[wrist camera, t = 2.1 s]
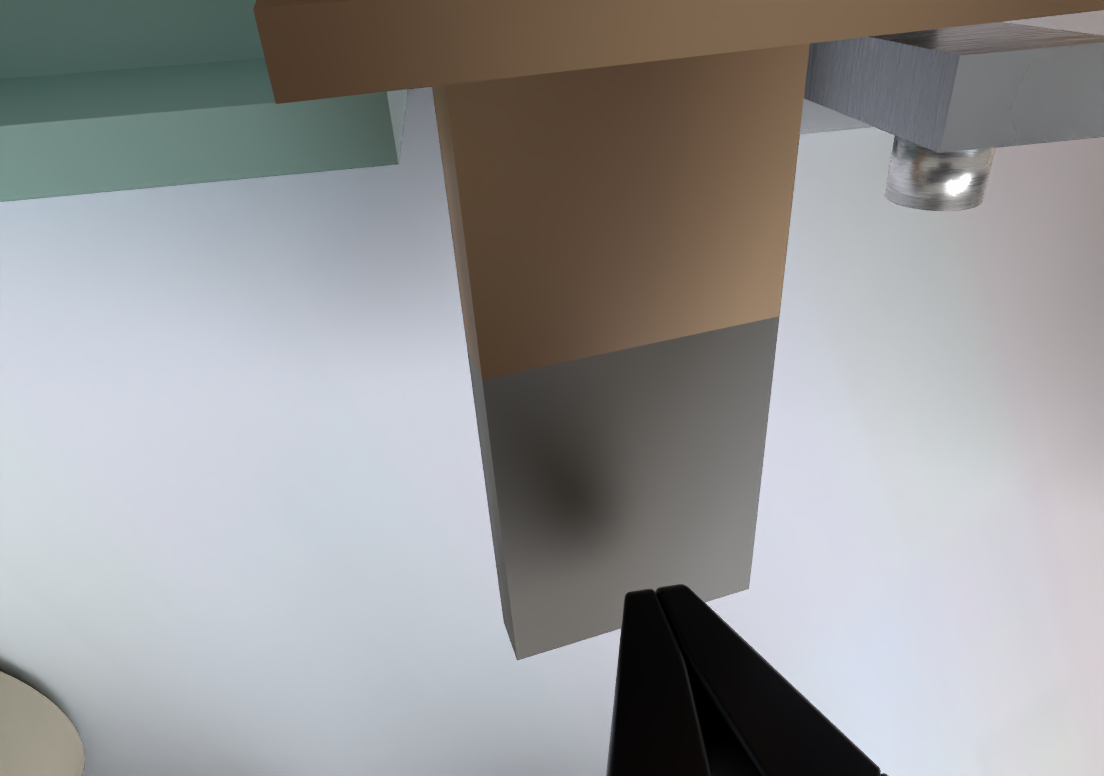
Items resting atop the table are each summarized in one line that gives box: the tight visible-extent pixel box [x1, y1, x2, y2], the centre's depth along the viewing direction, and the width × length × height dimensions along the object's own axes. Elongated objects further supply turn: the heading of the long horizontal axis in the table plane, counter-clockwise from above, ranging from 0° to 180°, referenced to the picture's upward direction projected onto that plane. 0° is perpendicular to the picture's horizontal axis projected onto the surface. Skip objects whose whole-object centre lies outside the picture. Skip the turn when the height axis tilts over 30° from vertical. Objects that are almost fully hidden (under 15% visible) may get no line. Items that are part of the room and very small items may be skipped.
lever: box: [253, 0, 1104, 660], centre depth 9 cm, size 16×14×5 cm
